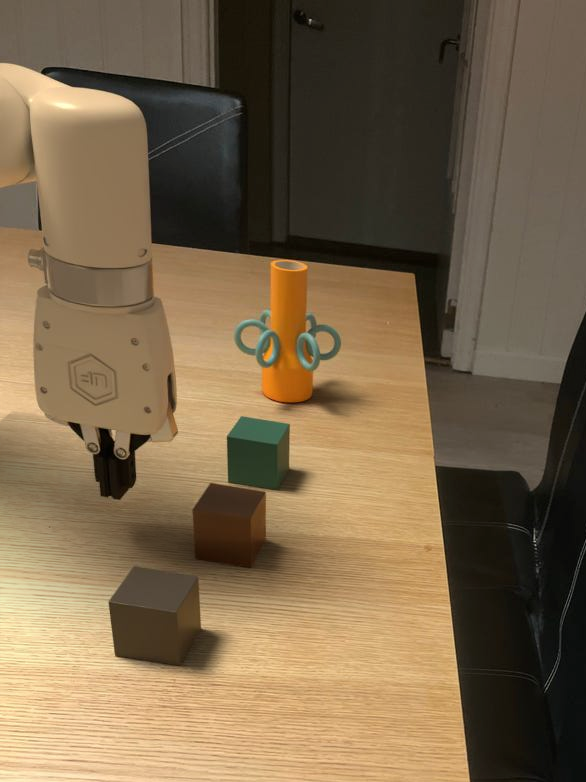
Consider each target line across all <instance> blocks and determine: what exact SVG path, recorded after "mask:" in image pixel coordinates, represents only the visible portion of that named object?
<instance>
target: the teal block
mask: <svg viewBox="0 0 586 782" xmlns="http://www.w3.org/2000/svg"><path fill="white" fill-rule="evenodd" d="M290 428H291V424H290V423H287V422H282V421H281V422H280V421H273V420H268V419H262V418H255V417H250V416H240V417H239V418H238V420H237V421H236V423H235V424H234V425H233V427H232V428H231V430H230V431H229V433H228V434H227V435H226V458H227V459H226V460H227V464H226V465H227V482H228V483H232V484H239V485H244V486H249V487H250V486H251V487H258V488H264V489H271V490H278V489H279V487H280V486H281V483H282V482H283V480H284V478H285V477H286V475H287V472H288V471H289V469H290V442H291V440H290V438H291V437H290V435H291V429H290Z"/></svg>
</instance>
